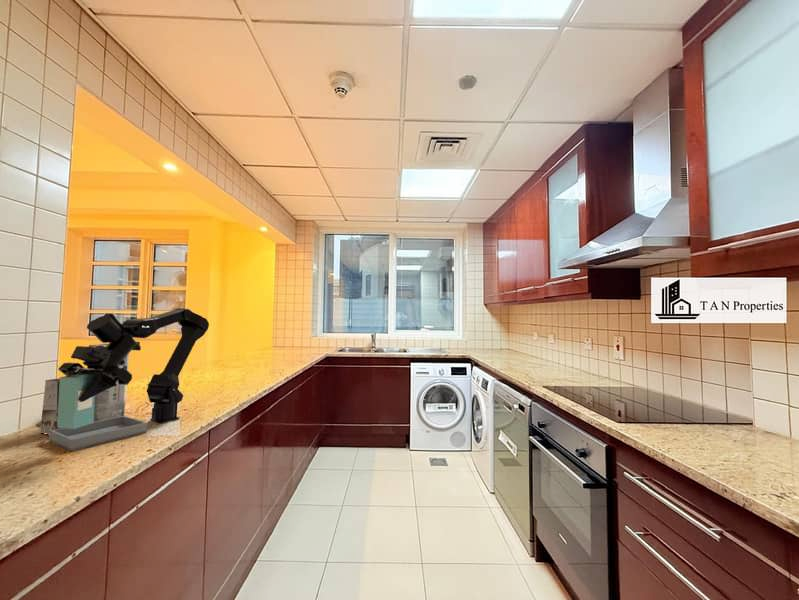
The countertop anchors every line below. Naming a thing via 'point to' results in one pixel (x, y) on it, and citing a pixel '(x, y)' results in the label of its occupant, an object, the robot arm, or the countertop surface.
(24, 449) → the countertop surface
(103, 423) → the tray
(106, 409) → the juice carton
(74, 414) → the tea tin
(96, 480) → the countertop surface
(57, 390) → the coffee box
